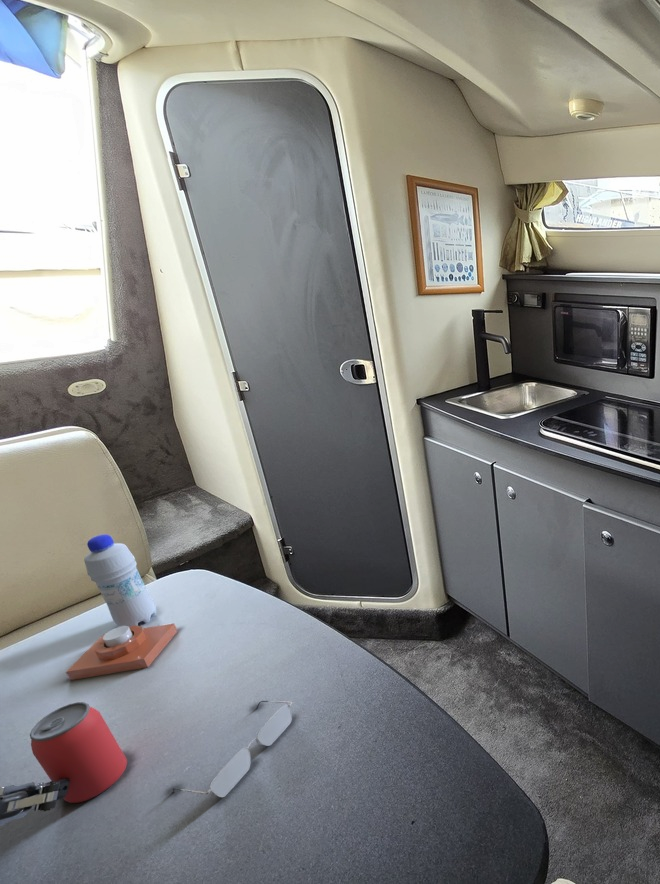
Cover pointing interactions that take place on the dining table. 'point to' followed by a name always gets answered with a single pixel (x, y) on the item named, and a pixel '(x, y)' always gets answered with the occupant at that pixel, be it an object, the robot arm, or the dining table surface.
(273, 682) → the dining table surface
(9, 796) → the robot arm
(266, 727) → the eyeglasses
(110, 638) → the white push button
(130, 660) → the orange button base
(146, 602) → the bottle
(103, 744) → the beer can
